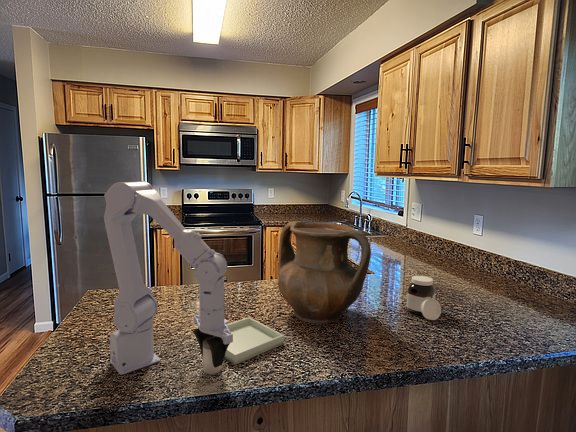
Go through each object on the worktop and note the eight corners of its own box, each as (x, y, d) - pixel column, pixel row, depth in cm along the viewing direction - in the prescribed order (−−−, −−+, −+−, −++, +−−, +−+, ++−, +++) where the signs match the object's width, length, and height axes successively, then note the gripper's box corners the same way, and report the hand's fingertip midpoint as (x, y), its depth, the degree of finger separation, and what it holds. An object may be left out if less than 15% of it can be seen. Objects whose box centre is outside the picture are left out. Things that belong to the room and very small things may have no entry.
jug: (257, 322, 111) (257, 227, 107) (288, 293, 137) (289, 216, 133) (362, 340, 100) (367, 236, 96) (374, 305, 126) (378, 222, 122)
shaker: (209, 376, 82) (208, 347, 81) (199, 368, 85) (199, 340, 84) (225, 369, 85) (225, 341, 84) (215, 361, 88) (215, 335, 87)
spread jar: (416, 304, 128) (418, 273, 127) (448, 313, 120) (450, 280, 119) (399, 313, 120) (401, 280, 118) (432, 324, 112) (435, 288, 110)
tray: (235, 364, 87) (234, 355, 86) (202, 340, 99) (202, 332, 98) (283, 344, 98) (284, 335, 97) (249, 324, 109) (249, 317, 109)
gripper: (244, 311, 80) (244, 367, 82) (211, 294, 91) (211, 344, 93) (216, 319, 76) (217, 379, 77) (185, 300, 86) (186, 353, 88)
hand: (212, 361), depth 85 cm, fingers closed on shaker, 4 cm apart
